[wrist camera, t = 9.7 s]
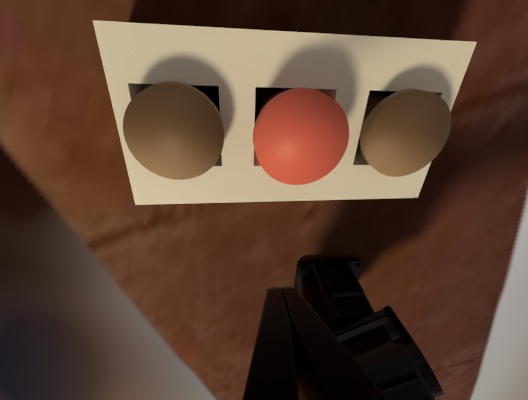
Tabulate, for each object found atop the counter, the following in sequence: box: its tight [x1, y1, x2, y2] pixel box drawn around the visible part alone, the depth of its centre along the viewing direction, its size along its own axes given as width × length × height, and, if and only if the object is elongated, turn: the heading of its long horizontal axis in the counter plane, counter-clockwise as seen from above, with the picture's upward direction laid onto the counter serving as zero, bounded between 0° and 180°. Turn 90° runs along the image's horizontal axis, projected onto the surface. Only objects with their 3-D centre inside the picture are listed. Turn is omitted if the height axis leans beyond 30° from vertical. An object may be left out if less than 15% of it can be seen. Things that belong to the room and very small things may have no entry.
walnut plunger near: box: [123, 81, 224, 180], centre depth 15 cm, size 5×5×6 cm
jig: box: [93, 20, 477, 205], centre depth 16 cm, size 9×18×4 cm, turn 88°
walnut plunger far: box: [359, 89, 451, 177], centre depth 17 cm, size 5×5×6 cm
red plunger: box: [253, 88, 349, 185], centre depth 15 cm, size 5×5×6 cm
